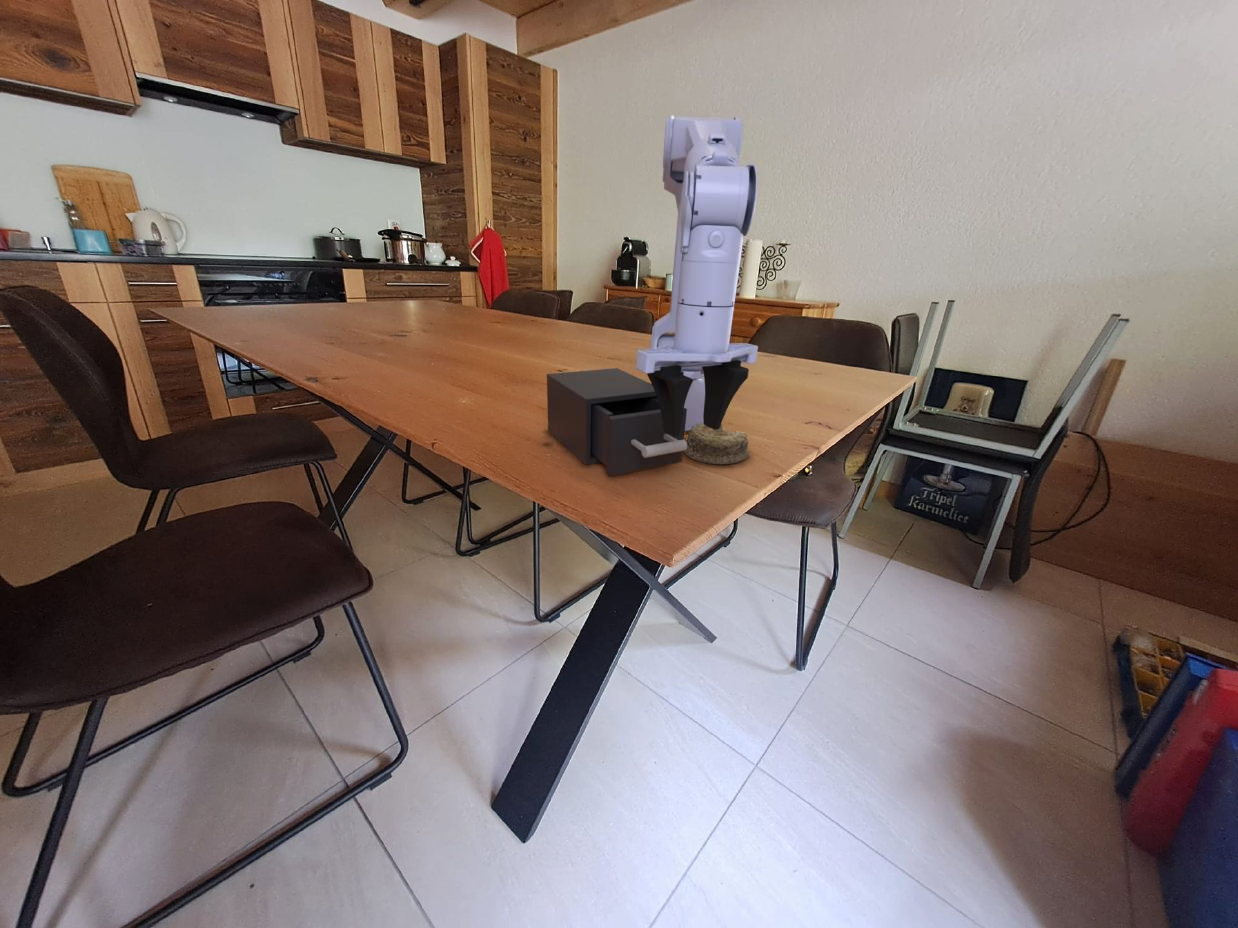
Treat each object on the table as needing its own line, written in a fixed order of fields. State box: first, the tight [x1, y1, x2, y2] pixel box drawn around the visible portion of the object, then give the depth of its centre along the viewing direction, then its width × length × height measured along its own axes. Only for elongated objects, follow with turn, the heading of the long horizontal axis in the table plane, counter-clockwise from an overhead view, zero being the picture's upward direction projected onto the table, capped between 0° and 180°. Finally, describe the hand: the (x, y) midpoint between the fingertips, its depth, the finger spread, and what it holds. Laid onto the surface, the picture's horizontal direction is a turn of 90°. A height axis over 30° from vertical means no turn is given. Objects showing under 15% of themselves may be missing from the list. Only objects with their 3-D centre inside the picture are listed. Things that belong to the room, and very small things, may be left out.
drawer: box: [590, 397, 687, 477], centre depth 66 cm, size 18×11×8 cm, turn 29°
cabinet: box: [546, 367, 657, 466], centre depth 73 cm, size 15×13×10 cm
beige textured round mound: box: [683, 422, 750, 465], centre depth 71 cm, size 10×10×5 cm
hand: (691, 430), depth 53 cm, fingers open, 5 cm apart
